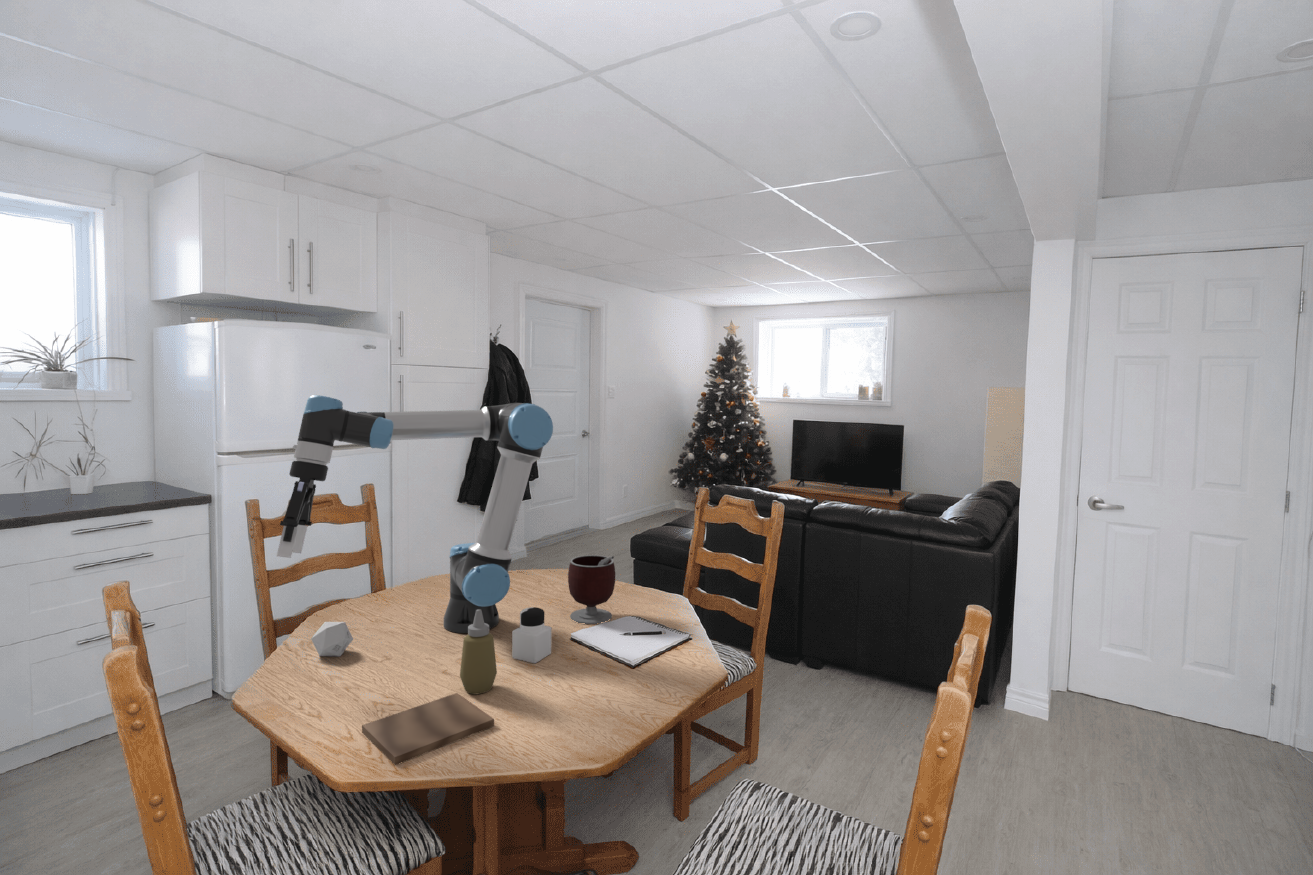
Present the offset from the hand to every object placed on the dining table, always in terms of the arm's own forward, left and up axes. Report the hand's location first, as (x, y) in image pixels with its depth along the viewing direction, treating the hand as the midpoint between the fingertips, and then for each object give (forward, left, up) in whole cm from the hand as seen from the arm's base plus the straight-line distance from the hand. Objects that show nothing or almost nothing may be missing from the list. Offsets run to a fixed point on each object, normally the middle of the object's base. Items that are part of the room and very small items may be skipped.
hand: (289, 554), depth 147 cm
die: (-12, -8, -29) cm, 32 cm away
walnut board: (-13, +42, -29) cm, 53 cm away
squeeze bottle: (-29, +33, -29) cm, 52 cm away
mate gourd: (-77, +15, -29) cm, 83 cm away
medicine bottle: (-48, +26, -29) cm, 61 cm away
